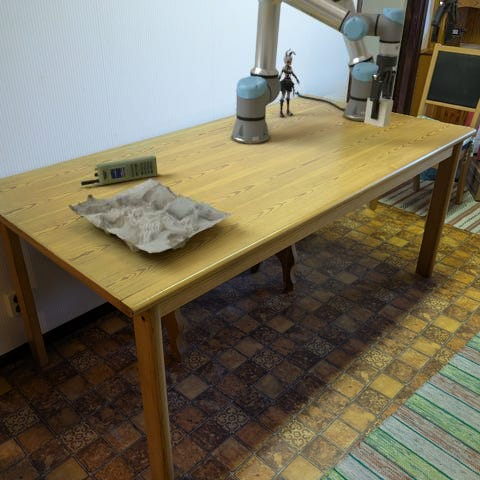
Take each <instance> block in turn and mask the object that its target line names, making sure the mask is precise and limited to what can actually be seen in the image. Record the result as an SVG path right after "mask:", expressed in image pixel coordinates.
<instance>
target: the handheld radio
mask: <svg viewBox="0 0 480 480" xmlns="http://www.w3.org/2000/svg"><path fill="white" fill-rule="evenodd" d="M157 164H158V163H157V156H156V155H147V156H141V157H140V156H139V157H134V158H127V159H121V160H115V161H108V162H101V163H96V164H93V167H94V168H93V171H97V172H95V173H94V174H93V175H94V177H96V179H90V180H83V181H82V180H81V181H80V185H81V186H88V185H93V184H94V185H96V186H97V187H98V186H99V187H100V186H105V185H109V184H115V183H121V182H128V181H134V180H139V179H144V178H151V177H156V176H158V175H159V174H158V165H157Z"/></svg>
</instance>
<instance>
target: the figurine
mask: <svg viewBox="0 0 480 480" xmlns="http://www.w3.org/2000/svg"><path fill="white" fill-rule="evenodd" d="M292 55H294V56H297V54H296V52H295V51H293V50H292V48H289V49H288V50H286V51H285V52H284V56H283V63H284V64H285V65H284V66H283V67H282V69H281V71H280V72H279V76H278V80H279V81H280V85H281V89H280V92H281V96H280V99H279V100H278V101H279V107H280V108H279V113H278V114H279V117H280V118H285V117H286V115H288V116H293V112H291V111H290V101H291V93H292V97H295V95H297V94H296V90H295V82H294V81H293V79H292V77H293V78H294V79H295V80H296V83H297V85H300V80H299V79H298V77H297V75H296V74H295V72H294V70H293V68H292V64H293V56H292ZM283 75H284V77H283V78H282V76H283ZM291 76H292V77H291ZM285 101H286V115H285V114H284V111H283V109H284V103H285Z"/></svg>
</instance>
